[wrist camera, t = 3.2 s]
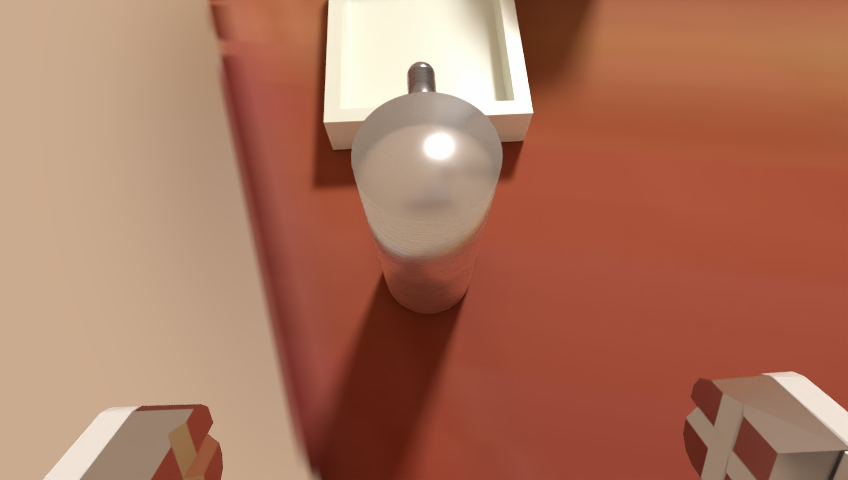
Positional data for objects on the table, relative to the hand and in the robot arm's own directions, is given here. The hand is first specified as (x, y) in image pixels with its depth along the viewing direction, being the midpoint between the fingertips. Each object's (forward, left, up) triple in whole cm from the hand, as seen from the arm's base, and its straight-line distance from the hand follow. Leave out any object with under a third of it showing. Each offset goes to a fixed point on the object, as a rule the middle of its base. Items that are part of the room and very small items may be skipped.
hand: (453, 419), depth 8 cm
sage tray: (-1, -26, -18) cm, 31 cm away
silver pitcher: (0, -10, -18) cm, 21 cm away
